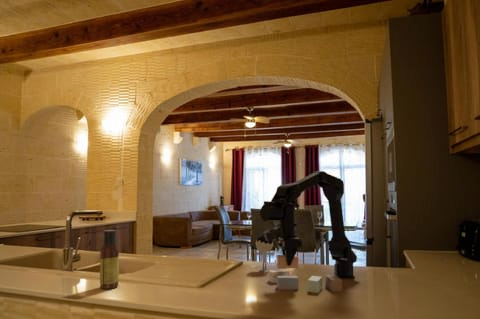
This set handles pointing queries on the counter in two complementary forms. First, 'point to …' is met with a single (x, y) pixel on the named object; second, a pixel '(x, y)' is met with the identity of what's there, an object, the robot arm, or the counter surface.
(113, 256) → the sauce bottle
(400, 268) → the counter surface
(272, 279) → the birch block
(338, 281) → the walnut block
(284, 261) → the terracotta block
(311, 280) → the sage block
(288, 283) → the slate block
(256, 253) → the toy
